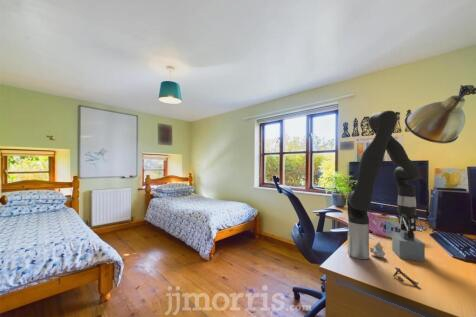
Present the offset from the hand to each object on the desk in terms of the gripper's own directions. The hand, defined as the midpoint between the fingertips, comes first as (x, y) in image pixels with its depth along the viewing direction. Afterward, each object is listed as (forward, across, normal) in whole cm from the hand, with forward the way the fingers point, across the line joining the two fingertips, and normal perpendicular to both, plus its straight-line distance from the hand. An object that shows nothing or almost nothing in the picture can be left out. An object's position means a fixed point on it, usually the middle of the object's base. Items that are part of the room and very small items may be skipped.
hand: (406, 235), depth 107 cm
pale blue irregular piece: (+10, +7, -15) cm, 20 cm away
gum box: (+11, -33, +2) cm, 35 cm away
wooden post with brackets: (+11, +30, -11) cm, 34 cm away
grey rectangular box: (+10, 0, 0) cm, 10 cm away
